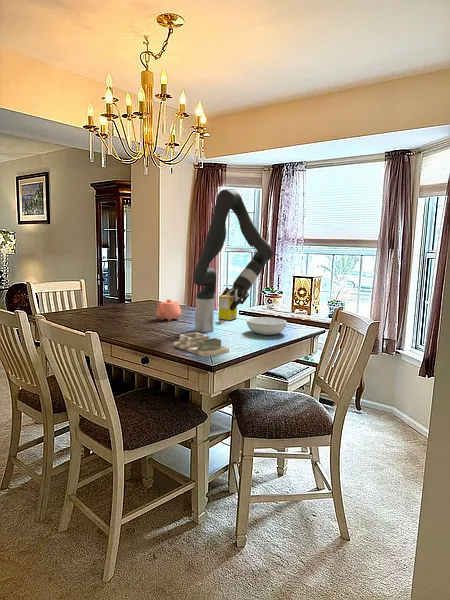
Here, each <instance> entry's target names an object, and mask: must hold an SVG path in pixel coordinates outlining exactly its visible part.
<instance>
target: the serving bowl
mask: <svg viewBox="0 0 450 600" xmlns="http://www.w3.org/2000/svg"><path fill="white" fill-rule="evenodd" d="M287 323H288V322H287V320H285V319H282V318H275V317H267V316H260V317H259V316H257V317H256V316H255V317H249V318H247V319H246V325H247V327H248V329H249V330H250V331H252V332H254V333H256V334H258V335H262V334H263V336H264V335H265V336H272V334H273V335H277V334H279V333H281V332H283V331H284V330H285V328H286V327H287Z"/></svg>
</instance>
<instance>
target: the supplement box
mask: <svg viewBox="0 0 450 600" xmlns="http://www.w3.org/2000/svg"><path fill="white" fill-rule="evenodd" d="M221 295H222V294H221ZM221 295H219V296H218V305H219V306H218V317H219V319H218V321H219V320H223V321H226V322H228V323H229V322H233V321H237V313H238V312H237V311H238V309H237V307H238V306H237V307H236V308H235V309H234V310H233V311H231V310H230V306H231V305H232V303H233V302H235V296H232V295H230V294H229V295H222V296H221Z"/></svg>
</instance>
